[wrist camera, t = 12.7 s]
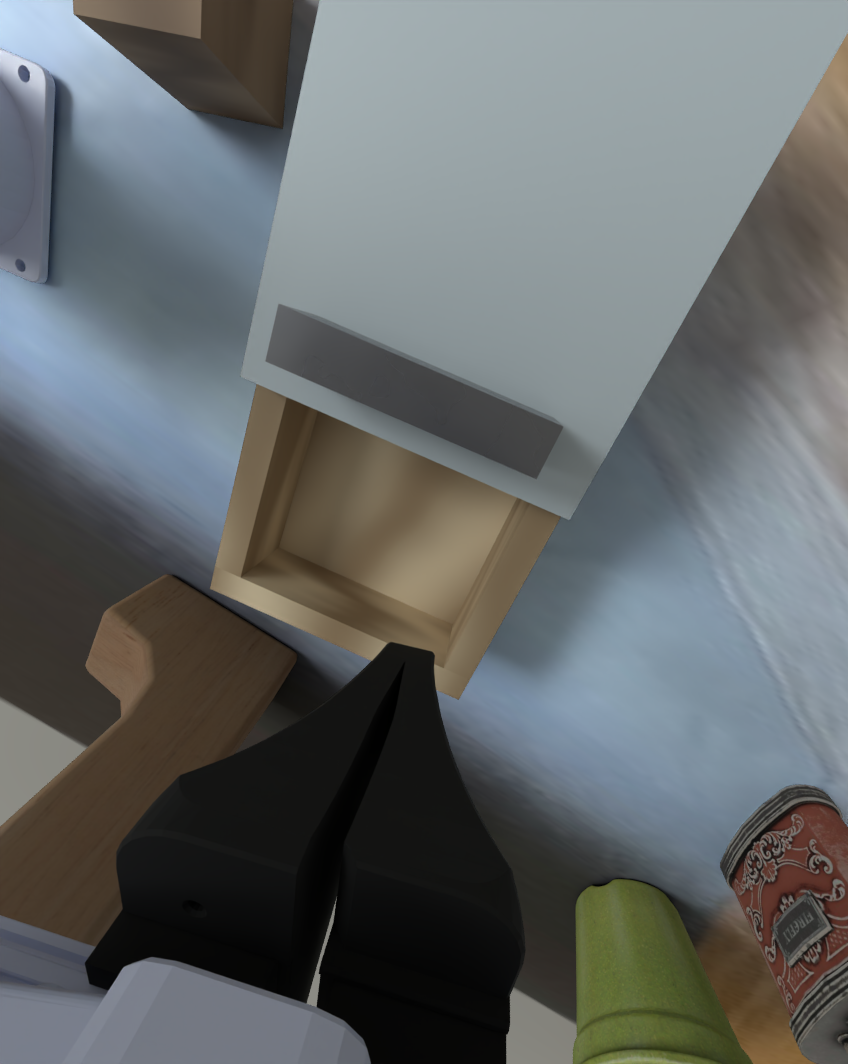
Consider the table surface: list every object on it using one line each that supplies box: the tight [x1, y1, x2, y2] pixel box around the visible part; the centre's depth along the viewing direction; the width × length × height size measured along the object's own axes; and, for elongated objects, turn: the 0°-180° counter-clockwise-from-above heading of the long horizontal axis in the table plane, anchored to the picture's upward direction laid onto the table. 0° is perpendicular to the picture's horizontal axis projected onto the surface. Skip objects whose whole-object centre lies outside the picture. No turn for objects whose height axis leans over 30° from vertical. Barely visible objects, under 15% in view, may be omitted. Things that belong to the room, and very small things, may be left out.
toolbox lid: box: [240, 0, 848, 520], centre depth 11 cm, size 12×14×4 cm
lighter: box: [720, 785, 848, 1064], centre depth 20 cm, size 8×3×10 cm, turn 165°
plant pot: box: [573, 879, 753, 1064], centre depth 24 cm, size 9×9×9 cm
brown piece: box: [210, 384, 561, 700], centre depth 19 cm, size 12×14×4 cm
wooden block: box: [0, 574, 297, 947], centre depth 18 cm, size 9×4×18 cm, turn 58°
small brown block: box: [73, 0, 293, 129], centre depth 14 cm, size 4×4×5 cm
